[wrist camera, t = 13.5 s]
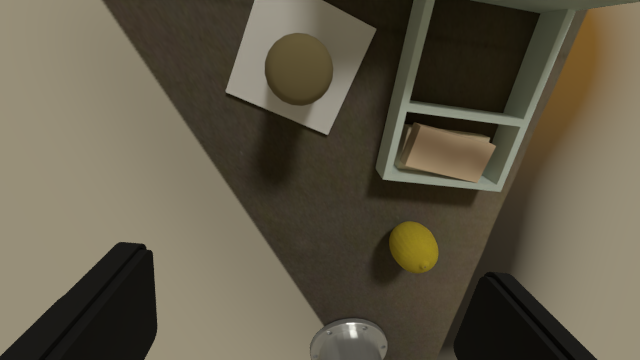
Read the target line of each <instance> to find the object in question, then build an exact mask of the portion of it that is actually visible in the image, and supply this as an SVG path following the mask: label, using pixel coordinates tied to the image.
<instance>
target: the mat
mask: <svg viewBox="0 0 640 360" xmlns="http://www.w3.org/2000/svg"><path fill="white" fill-rule="evenodd" d="M375 32H376V28H374V27H372V26H370V25H368V24H366V23H364V22H362V21H361V20H359V19H357V18H355V17H353V16H351V15H349V14H347V13H345V12H344V11H342V10H340V9H338V8H336V7H334V6H332V5H330V4H329V3H327V2H325V1H323V0H255V1H254V4H253V7H252V10H251V14H250V17H249V20H248V23H247V26H246V29H245V33H244V36H243V39H242V42H241V45H240V48H239V51H238V55H237V58H236V61H235V64H234V67H233V70H232V74H231V77H230V80H229V83H228V86H227V89H226V92H227V93H229V94H231V95H234V96H236V97H239V98H241V99H243V100H246V101H248V102H250V103H253V104H255V105H257V106H260V107H262V108H265V109H267V110H269V111H272V112H274V113H276V114H279V115H281V116H284V117H286V118H288V119H291V120H293V121H295V122H298V123H300V124H303V125H305V126H307V127H310V128H312V129H314V130H317V131H319V132H322V133H324V134H326V135H328V133H329V131H330V129H331V127H332V125H333V123H334V120H335V118H336V116H337V114H338V112H339V110H340V107H341V105H342V103H343V101H344V99H345V97H346V94H347V92H348V90H349V88H350V86H351V84H352V81H353V79H354V77H355V75H356V73H357V71H358V68H359V66H360V64H361V62H362V60H363V58H364V55H365V53H366V51H367V49H368V47H369V45H370V42H371V40H372V38H373V36H374V34H375ZM292 33H304V34H309V35H311V36H313V37H315V38H317V39H318V40H319V41H320V42H321V43H322V44H323V45H324V46H325V47H326V48H327V50H328V52H329V54H330V56H331V58H332V63H333V78H332V82H331V84H330V86H329V89H328V90H327V92H326V93H325V94H324V95H323V96H322V98H320V99H319V100H317V101H315V102H314V103H312V104H308V105H304V106H297V105H291V104H288V103H286V102H283V101H282V100H280V99H279V98H278V97H277V96H276V95H274V93H273V92H272V90H271V89H270V87H269V86H268V84H267V80H266V77H265V60H266V57H267V54H268V51H269V50H270V48H271V47H272V46H273V44H274V43H275V42H276V41H277V40H279V39H280V38H282V37H283V36H285V35H288V34H292Z"/></svg>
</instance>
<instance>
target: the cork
mask: <svg viewBox="0 0 640 360" xmlns="http://www.w3.org/2000/svg"><path fill="white" fill-rule="evenodd" d="M265 77H266V80H267V84H268V86H269V87H270V89H271V90H272V92H273V93H274V95H276V96H277V97H278V98H279V99H280V100H282V101H283V102H286V103H288V104H291V105H297V106H304V105H308V104H312V103H314V102H315V101H317V100H319V99H320V98H322V96H323V95H324V94H325V93H326V92H327V90H328V89H329V86H330V84H331V82H332V78H333V63H332V58H331V56H330V54H329V52H328V50H327V48H326V47H325V46H324V45H323V44H322V43H321V42H320V41H319V40H318V39H317V38H315V37H313V36H311V35H309V34H304V33H292V34H288V35H285V36H283V37H282V38H280V39H279V40H277V41H276V42H275V43H274V44H273V46H272V47H271V48H270V50H269V51H268V54H267V57H266V60H265Z"/></svg>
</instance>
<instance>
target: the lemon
mask: <svg viewBox="0 0 640 360" xmlns="http://www.w3.org/2000/svg"><path fill="white" fill-rule="evenodd" d="M389 247H390V250H391V253H392V256H393V257H394V259H395V260H396V262H397V263H398V264H399V265H400V266H401V267H402V268H404V269H405V270H407V271H409V272H412V273H423V272H426V271H428V270H430V269H431V268H432V267H433V266H434V265H435V263H436V261H437V259H438V246H437V243H436V241H435V238H434V236H433V235H432V234H431V232H430V231H429V230H428V229H427V228H426V227H424V226H423V225H421V224H419V223H416V222H409V221H408V222H403V223H401V224H399V225H397V226H396V227H395V228H394V229H393V230H392V232H391V234H390V238H389Z"/></svg>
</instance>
